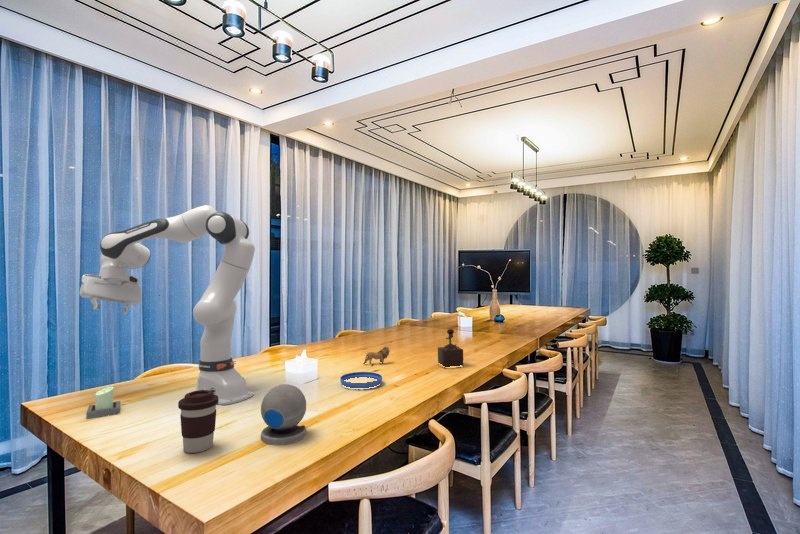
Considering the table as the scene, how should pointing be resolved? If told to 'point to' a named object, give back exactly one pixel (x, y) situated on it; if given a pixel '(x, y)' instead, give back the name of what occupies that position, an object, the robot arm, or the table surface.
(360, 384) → the blue ring
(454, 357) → the black block with stem
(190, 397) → the coffee cup
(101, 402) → the candle
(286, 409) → the webcam
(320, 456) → the table surface
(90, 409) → the holder collar
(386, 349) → the lion figurine
